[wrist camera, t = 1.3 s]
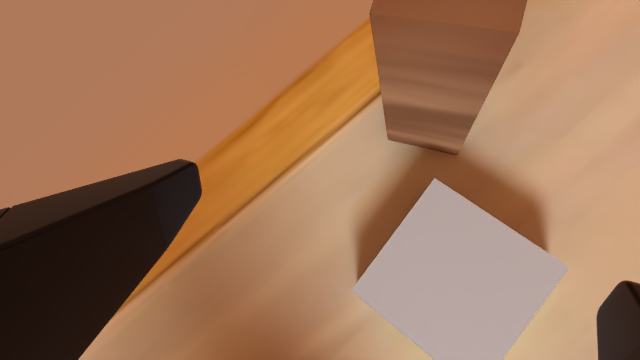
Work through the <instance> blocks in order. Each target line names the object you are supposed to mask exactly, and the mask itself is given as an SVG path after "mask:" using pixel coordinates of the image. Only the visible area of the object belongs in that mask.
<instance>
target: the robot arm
mask: <svg viewBox="0 0 640 360" xmlns="http://www.w3.org/2000/svg"><path fill="white" fill-rule="evenodd" d="M201 194H202V188H201V182H200V176H199V170H198V167H197V165H196V164H195V163H193V162H190V161H187V160H183V159H178V160H175V161H171V162H167V163H164V164H160V165H157V166H153V167H150V168H146V169H142V170H139V171H135V172H132V173H128V174H125V175H121V176H118V177H114V178H111V179H107V180H103V181H100V182H96V183H93V184H89V185H86V186H82V187H79V188H75V189H72V190H68V191H65V192H61V193H58V194H54V195H50V196H47V197H43V198H40V199H36V200H33V201H29V202H26V203H22V204H19V205H15V206H13V207H12V208H9V207H8V208H4V209H0V360H78V359H79V358H80V357H81V355H82V354H83V353H84V352H85V350H86V349H87V348H88V347H89V345H90V344H91V343H92V342H93V340H94V339H95V338H96V337H97V335H98V334H99V333H100V332H101V330H102V329H103V328H104V327H105V326H106V324H107V323H108V322H109V321H110V319H111V318H112V317H113V316H114V314H115V313H116V312H117V311H118V309H119V308H120V307H121V306H122V304H123V303H124V302H125V301H126V299H127V298H128V297H129V296H130V295H131V293H132V292H133V291H134V290H135V288H136V287H137V286H138V285H139V283H140V282H141V281H142V280H143V278H144V277H145V276H146V275H147V273H148V272H149V271H150V270H151V268H152V267H153V266H154V265H155V263H156V262H157V261H158V260H159V259H160V257H161V256H162V255H163V253H164V252H165V251H166V250H167V248H168V247H169V245H170V244H171V242H172V241H173V240H174V238H175V237H176V235H177V233H178V232H179V230H180V229H181V227H182V226H183V224H184V223H185V221H186V220H187V218H188V217H189V215H190V213H191V212H192V210H193V209H194V207H195V206H196V204H197V203H198V201H199V199H200V197H201ZM597 340H598V360H640V284H639V283H636V282H632V281H622V282H620V283H619V284H618V285H617V286H616V287H615V288H614V290H613V291H612V292H611V293H610V295H609V296H608V297H607V299H606V300H605V301H604V302H603V304H602V305H601V306H600V308H599V310H598V313H597Z"/></svg>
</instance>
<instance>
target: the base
mask: <svg viewBox="0 0 640 360" xmlns="http://www.w3.org/2000/svg"><path fill="white" fill-rule="evenodd" d="M568 269H569V266H567V265H566V264H564V263H563V262H561V261H560V260H558V259H557V258H555V257H554V256H552V255H551V254H549V253H548V252H546V251H545V250H543V249H542V248H540V247H538V246H537V245H535V244H534V243H532V242H531V241H529V240H528V239H526V238H525V237H523V236H522V235H520V234H519V233H517V232H516V231H514V230H513V229H511V228H510V227H508V226H507V225H505V224H504V223H502V222H501V221H499V220H498V219H496V218H495V217H493V216H492V215H490V214H489V213H487V212H485V211H484V210H482V209H481V208H479V207H478V206H476V205H475V204H473V203H472V202H470V201H469V200H467V199H466V198H464V197H463V196H461V195H460V194H458V193H457V192H455V191H454V190H452V189H451V188H449V187H448V186H446V185H445V184H443V183H442V182H440V181H439V180H437V179H436V178H434V180H433V181H432V182H431V184H430V185H429V186H428V188H427V189H426V190H425V192H424V193H423V194H422V196H421V197H420V199H419V200H418V201H417V203H416V204H415V205H414V207H413V208H412V209H411V211H410V212H409V213H408V215H407V216H406V217H405V219H404V220H403V221H402V223H401V224H400V225H399V227H398V228H397V229H396V231H395V232H394V233H393V235H392V236H391V238H390V239H389V240H388V242H387V243H386V244H385V246H384V247H383V248H382V250H381V251H380V252H379V254H378V255H377V256H376V258H375V259H374V260H373V262H372V263H371V264H370V266H369V267H368V268H367V270H366V271H365V272H364V274H363V275H362V276H361V278H360V279H359V281H358V282H357V283H356V285H355V286H354V287H353V289H352V290H351V291H352V292H353V293H354V294H356V295H357V296H358V297H359V298H361V299H362V300H363V301H364V302H365V303H367V304H368V305H369V306H370V307H371V308H373V309H374V310H375V311H376V312H377V313H379V314H380V315H381V316H382V317H383V318H385V319H386V320H387V321H388V322H389V323H391V324H392V325H393V326H394V327H396V328H397V329H398V330H399V331H400V332H402V333H403V334H404V335H405V336H406V337H408V338H409V339H410V340H411V341H412V342H414V343H415V344H416V345H417V346H418V347H420V348H421V349H422V350H423V351H424V352H426V353H427V354H428V355H429V356H430V357H432V358H433V359H434V360H503V358H504V357H505V356H506V354H507V353H508V352H509V350H510V349H511V347H512V346H513V345H514V343H515V342H516V341H517V339H518V338H519V336H520V335H521V334H522V332H523V331H524V329H525V328H526V327H527V325H528V324H529V323H530V321H531V320H532V318H533V317H534V316H535V314H536V313H537V312H538V310H539V309H540V307H541V306H542V305H543V303H544V302H545V301H546V299H547V298H548V296H549V295H550V294H551V292H552V291H553V289H554V288H555V287H556V285H557V284H558V283H559V281H560V280H561V278H562V277H563V276H564V274H565V273H566V272H567V270H568Z"/></svg>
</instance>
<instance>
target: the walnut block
mask: <svg viewBox="0 0 640 360" xmlns="http://www.w3.org/2000/svg"><path fill="white" fill-rule="evenodd" d="M526 3H527V0H373V4H372V7H371V10H370V19H371V26H372V33H373V40H374V47H375V54H376V61H377V67H378V74H379V81H380V88H381V95H382V102H383V109H384V115H385V122H386V129H387V136H388V140H392V141H396V142H401V143H405V144H410V145H414V146H419V147H424V148H428V149H433V150H437V151H442V152H446V153H451V154H455V155H457V154H458V152H459V150H460V148H461V146H462V144H463V143H464V141H465V139H466V137H467V135H468V133H469V131H470V129H471V127H472V125H473V123H474V121H475V119H476V117H477V115H478V113H479V111H480V109H481V107H482V105H483V103H484V101H485V99H486V97H487V95H488V93H489V91H490V89H491V87H492V85H493V83H494V81H495V79H496V77H497V75H498V74H499V72H500V70H501V68H502V66H503V64H504V62H505V60H506V58H507V56H508V54H509V52H510V50H511V48H512V46H513V44H514V42H515V40H516V38H517V36H518V34H519V32H520V28H521V24H522V19H523V15H524V11H525V7H526Z"/></svg>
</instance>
